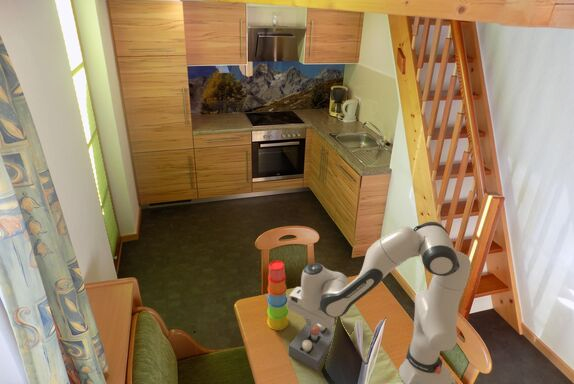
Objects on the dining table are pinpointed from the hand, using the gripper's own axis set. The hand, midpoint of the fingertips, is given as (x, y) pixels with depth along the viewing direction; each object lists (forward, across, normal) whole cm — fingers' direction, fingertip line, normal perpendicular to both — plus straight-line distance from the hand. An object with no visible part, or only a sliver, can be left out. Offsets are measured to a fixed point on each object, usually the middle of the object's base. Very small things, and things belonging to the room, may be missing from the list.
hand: (309, 324), depth 157 cm
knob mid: (+14, 0, -6) cm, 16 cm away
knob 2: (+18, +1, -13) cm, 22 cm away
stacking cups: (+20, +22, -9) cm, 31 cm away
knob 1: (+18, +1, 0) cm, 18 cm away
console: (+20, +1, -6) cm, 21 cm away
